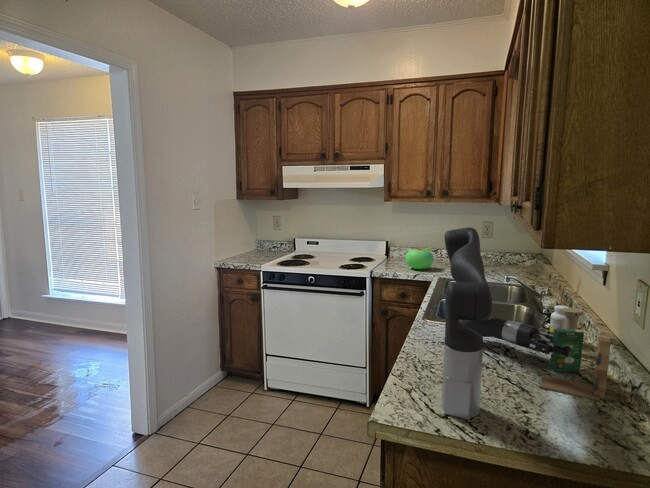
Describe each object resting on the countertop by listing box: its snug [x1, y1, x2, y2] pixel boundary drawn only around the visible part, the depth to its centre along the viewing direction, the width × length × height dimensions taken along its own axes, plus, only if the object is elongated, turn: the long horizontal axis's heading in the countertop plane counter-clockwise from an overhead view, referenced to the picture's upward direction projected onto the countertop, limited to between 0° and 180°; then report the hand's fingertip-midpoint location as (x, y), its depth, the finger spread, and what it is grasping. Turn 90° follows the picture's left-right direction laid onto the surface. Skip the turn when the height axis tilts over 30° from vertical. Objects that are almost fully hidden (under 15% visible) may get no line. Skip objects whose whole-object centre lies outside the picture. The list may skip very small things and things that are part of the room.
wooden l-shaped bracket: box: [540, 328, 611, 402], centre depth 117 cm, size 12×15×16 cm
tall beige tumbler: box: [561, 307, 585, 329], centre depth 139 cm, size 5×6×15 cm
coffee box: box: [549, 328, 585, 373], centre depth 126 cm, size 8×3×13 cm, turn 89°
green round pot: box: [405, 247, 435, 270], centre depth 273 cm, size 18×17×15 cm
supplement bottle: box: [549, 304, 570, 332], centre depth 150 cm, size 7×7×13 cm
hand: (574, 349), depth 125 cm, fingers closed on coffee box, 7 cm apart
